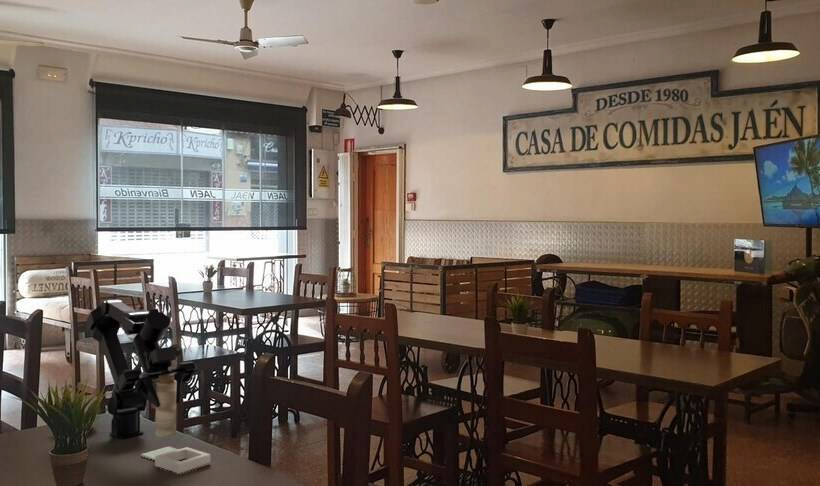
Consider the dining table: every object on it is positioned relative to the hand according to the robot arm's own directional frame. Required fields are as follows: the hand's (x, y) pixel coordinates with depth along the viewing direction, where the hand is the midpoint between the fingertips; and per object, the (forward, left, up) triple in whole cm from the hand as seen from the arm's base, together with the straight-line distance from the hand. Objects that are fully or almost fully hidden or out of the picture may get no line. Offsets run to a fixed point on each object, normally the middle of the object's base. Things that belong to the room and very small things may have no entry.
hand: (168, 404), depth 179 cm
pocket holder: (+1, +8, -13) cm, 15 cm away
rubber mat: (0, -2, -13) cm, 13 cm away
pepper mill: (0, -1, -8) cm, 8 cm away
